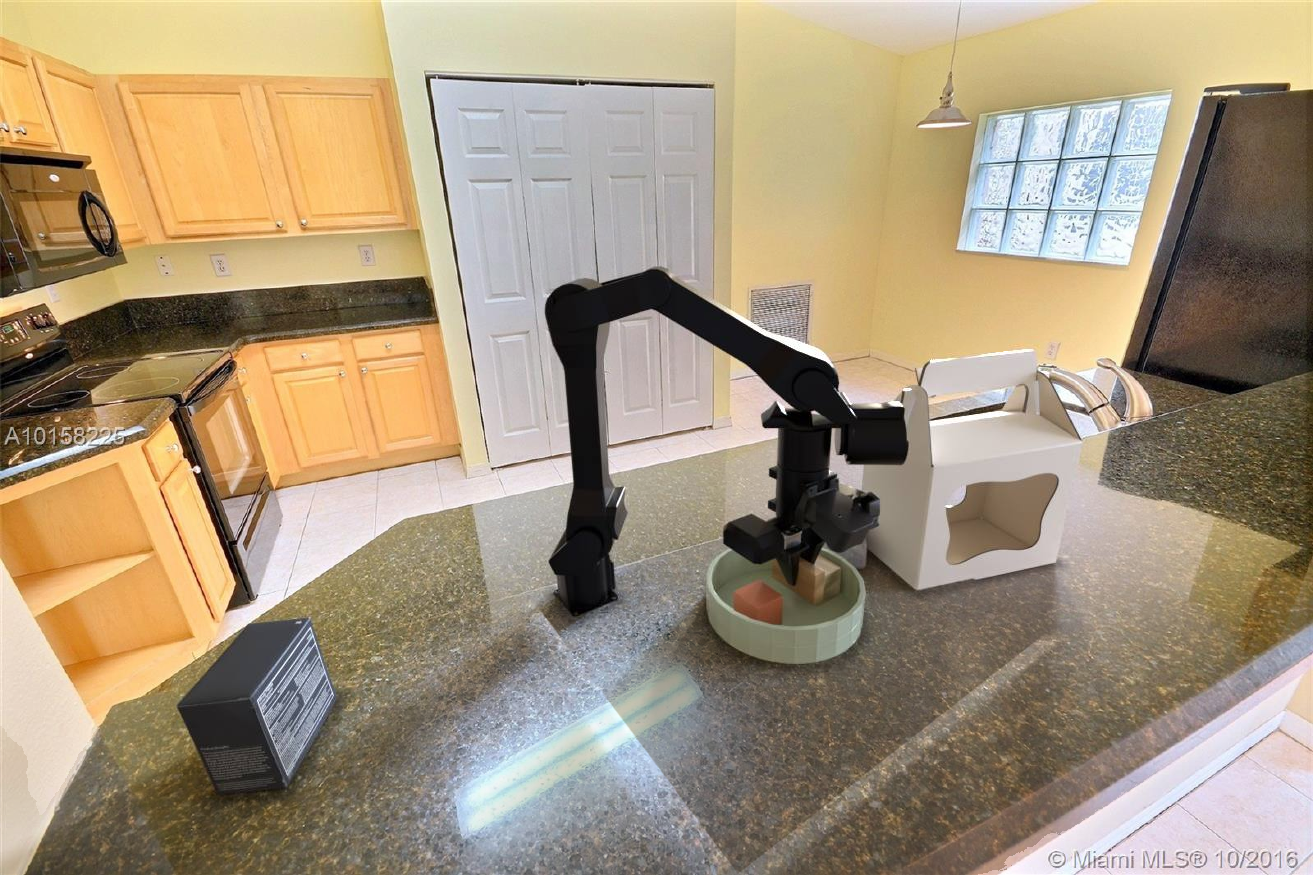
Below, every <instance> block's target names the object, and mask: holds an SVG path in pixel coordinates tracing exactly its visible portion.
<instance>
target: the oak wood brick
mask: <svg viewBox="0 0 1313 875" xmlns="http://www.w3.org/2000/svg"><path fill="white" fill-rule="evenodd" d="M772 578H773V579H775V580H776V581H778V582H779V583H781V584H782V585H784V586H785V587H787V588H788V589H790V590H791V591H793V592H794V593H796V594H797V595H799V596H800V597H802V598H803V599H805V600H806V601H808V602H809V603H811V604H812V605H815V604H817V603H819V602H821V601H823V595H824V580H825V571H823V570H821V569H820V568H818V567H816V566H815V565H813V564H811V563H810V562H808V561H806V560H805V559H803V558H801V557H800V560H799V569H798V577H797V581H796V585H795V586H791V585H790V584H788V583H787V581H786V579H785V577H784V575H783V573H782V571H781V569H780V567H779V565H778V562H777V560H776V558H775V559H773V560H772Z"/></svg>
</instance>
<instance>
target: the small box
mask: <svg viewBox="0 0 1313 875" xmlns="http://www.w3.org/2000/svg"><path fill="white" fill-rule="evenodd" d="M338 698H339V697H338V695H337V692H336V689H335V686H334V684H333V681H332V679H331V676H330V673H329V670H328V667H327V664H326V661H325V659H324V654H323V652H322V649H321V646H320V643H319V640H318V637H317V634H316V631H315V628H314V625H313V621H312V619H311V617H310V616H306V617H298V618H288V619H279V620H270V621H261V622H259V621H258V622H251V623H247V625H246V626H245V627H244V628H243V629H242V630H241V632H240V633H239V634H238V635H237V636H236V637H235V638H234V640H233V641H232V642H231V643H230V644H229V645H228V647H226V649H225V650H224V651H223V652H222V653H221V655H219V657H218V658H217V659H216V660H215V661H214V662H213V663H212V665H210V667H209V668H208V669H207V670H206V672H205V673H204V674H203V675H201V677H200V678H199V679H198V681H197V682H196V683H195V684H194V685H193V686H192V688H190V690H189V691H188V692H186V694H185V695H184V696H183V698H181V700H180V701H179V702H178V703H177V704H176V706H175V707H176V708H177V710H178V712H179V715H180V716H181V719H182V721H183V723H184V725H185V728H186V729H187V732H188V734H189V736H190V738H191V740H192V742H193V745H194V746H195V749H196V751H197V753H198V756H199V757H200V760H201V762H202V764H203V766H204V768H205V770H206V773H207V775H208V778H209V779H210V782H211V784H212V786H213V788H214V791H215V793H216V795H218V796H222V795H233V794H242V793H251V792H261V791H272V790H281V789H286V788H288V786H290V783H291V782H292V780H293V778H294V777H295V775H296V773H297V771H298V769H299V767H300V766H301V765H302V762H303V760H304V759H305V757H306V755H307V753H308V752H309V750H310V748H311V747H312V744H313V743H314V741H315V739H316V737H317V736H318V735H319V732H320V730H321V728H322V727H323V725H324V724H325V721H326V720H327V718H328V716H329V715H330V712H331V711H332V709H333V707H334V705H335V704H336V702H337V700H338Z"/></svg>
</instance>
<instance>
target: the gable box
mask: <svg viewBox="0 0 1313 875" xmlns="http://www.w3.org/2000/svg"><path fill="white" fill-rule="evenodd" d="M1037 367H1038V353H1037V352H1036V350H1033V349H1022V350H1013V351H1003V352H996V353H995V352H994V353H986V354H978V355H969V356H960V357H953V358H951V357H950V358H944V359H935V360H934V359H933V360H929V361H927V362H925V364H924V365H923V366H922V367H915V368H914V371H915V376H916V381H917V384H910V385H907V386H906V387H905V388H904V389H903V388H902V391H901V392H900V393H899V394H898V395H897V396H896V398H894V399H893V401H892V402H899V403H900V404H901V405H902V406H903V407H904V408H905V413H904V419H905V423H906V429H907V440H908V442H909V448H908V454H907V458H906V461H905V463H904V464H903V465H863V468H862V469H863V470H862V480H861V481H862V482H861V491H863V492H865V493H867V492H872V493H873V494H875V495H876V496H877V497H878V498H879V499H880V515H879V518H878V521H879V526H878V527H876V528H874V529H871V530H869V532H868V534H867V536H866V544H867V550H868V551H870V552H871V553H872V554H873V555H875V556H876V557H877V558H878V559H879V560H880V561H881V562H883V563H884V564H885V565H886V566H887V567H888V568H889V569H890V570H892V572H894V573H895V574H896V575H898V576H899V577H900V578H901V579H902V580H903V581H904V582H906V583H907V584H908V585H909V586H910V587H911V588H912V589H914V590H915V591H920V590H924V589H930V588H934V587H938V586H944V585H948V584H952V583H957V582H962V581H967V580H972V579H973V580H983V579H987V578H991V577H996V576H1000V575H1006V574H1009V573H1014V572H1019V571H1023V570H1024V571H1025V570H1028V569H1032V568H1037V567H1042V566H1046V565H1051V564H1055V563H1057V560H1058V555H1059V550H1060V546H1061V542H1062V538H1063V532H1064V528H1065V525H1066V519H1067V515H1068V511H1069V506H1070V502H1071V498H1072V494H1073V489H1074V484H1075V480H1076V476H1077V471H1078V466H1079V463H1080V458H1081V454H1082V450H1083V445H1084V442H1083V439H1082V438H1081V436H1080V434H1079V431H1078V430H1077V428H1076V427H1075V424H1074V422H1073V420H1072V419H1071V417H1070V415H1069V412H1068V411H1067V409H1066V406H1065V405H1064V403H1063V401H1062V399H1061V397H1060V395H1059V394H1058V392H1057V389H1056V388H1055V386H1054V384H1053V382H1052V380H1051V379H1050V371H1047V370H1045V371H1039V370H1038V368H1037ZM1013 387H1014V388H1013ZM1003 388H1013V390H1012V391H1011V393H1010V395H1009V397H1008V399H1007V400H1006V402H1005V404H1004V406H1003V407H1002V409H1001V411H992V412H984V413H979V414H978V413H977V414H972V415H964V416H958V417H949V418H943V419H935V420H930V418H931V417H930V404H929V402H930V401H929V399H934V398H936V397H943V396H944V397H945V396H953V395H958V394H967V393H974V392H981V391H988V390H995V389H996V390H997V389H1003ZM1038 413H1039V414H1038ZM963 487H965V494H964V497H963V499H962V501H960V502H959V503H958V504H955V505H948V501H949V499H950V498H951V496H952V495H953V494H954V493H955V492H956V491H958V490H959V489H961V488H963Z"/></svg>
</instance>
